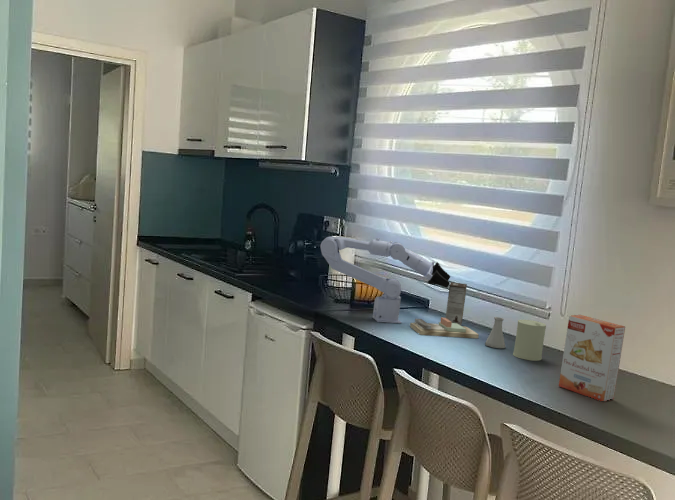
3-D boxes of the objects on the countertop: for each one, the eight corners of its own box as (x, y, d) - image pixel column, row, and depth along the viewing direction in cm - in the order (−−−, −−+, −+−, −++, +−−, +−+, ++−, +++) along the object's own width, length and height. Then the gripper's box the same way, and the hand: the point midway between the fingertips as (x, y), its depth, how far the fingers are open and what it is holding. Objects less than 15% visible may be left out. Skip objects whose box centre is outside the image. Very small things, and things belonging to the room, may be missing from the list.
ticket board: (420, 334, 244) (421, 325, 244) (409, 326, 256) (410, 317, 255) (478, 338, 249) (479, 329, 248) (465, 330, 260) (466, 321, 260)
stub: (446, 331, 247) (448, 322, 247) (438, 325, 256) (439, 316, 256) (465, 332, 249) (467, 323, 249) (456, 326, 258) (457, 318, 257)
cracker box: (557, 387, 196) (568, 314, 194) (569, 384, 200) (579, 313, 198) (603, 403, 185) (615, 326, 183) (614, 400, 189) (626, 325, 187)
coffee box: (445, 321, 273) (450, 281, 271) (461, 324, 271) (467, 283, 270) (444, 326, 264) (449, 284, 262) (461, 328, 262) (466, 287, 261)
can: (526, 361, 223) (531, 324, 221) (507, 353, 231) (511, 318, 229) (547, 360, 227) (552, 324, 226) (527, 352, 235) (532, 318, 234)
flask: (507, 346, 241) (511, 318, 240) (503, 350, 234) (507, 321, 233) (487, 342, 244) (490, 314, 243) (482, 346, 237) (486, 317, 236)
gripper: (421, 260, 251) (454, 279, 251) (424, 249, 265) (454, 267, 265) (411, 276, 253) (443, 295, 253) (414, 264, 267) (445, 282, 267)
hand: (448, 282), depth 259 cm, fingers open, 7 cm apart
